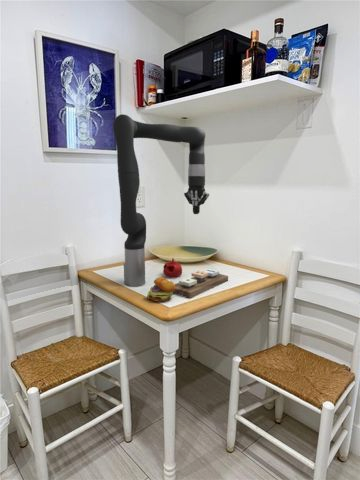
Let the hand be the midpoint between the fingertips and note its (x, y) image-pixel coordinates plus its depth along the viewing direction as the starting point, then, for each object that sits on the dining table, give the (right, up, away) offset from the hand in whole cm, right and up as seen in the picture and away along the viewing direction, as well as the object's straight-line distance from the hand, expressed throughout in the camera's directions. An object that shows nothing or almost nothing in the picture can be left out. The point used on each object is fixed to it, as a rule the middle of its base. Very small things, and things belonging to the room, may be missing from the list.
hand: (196, 213), depth 151 cm
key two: (+2, -31, +2) cm, 31 cm away
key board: (+2, -33, +2) cm, 33 cm away
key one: (-4, -34, -5) cm, 34 cm away
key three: (+7, -31, +9) cm, 33 cm away
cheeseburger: (-15, -36, -12) cm, 41 cm away
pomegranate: (-11, -30, +18) cm, 37 cm away
